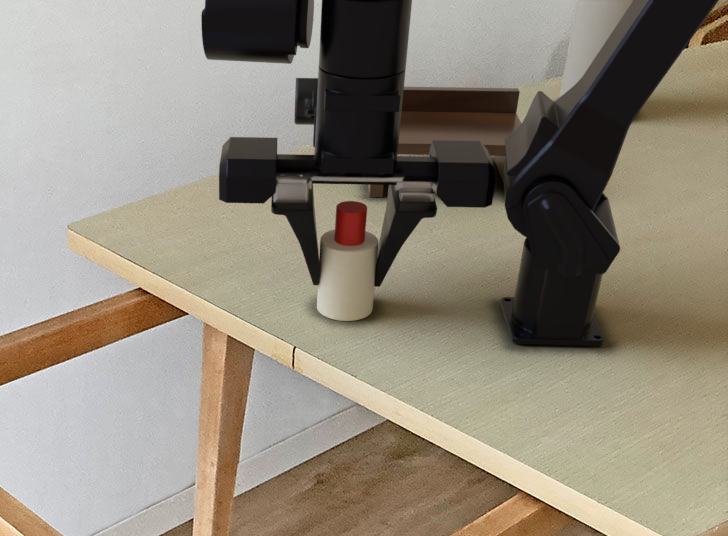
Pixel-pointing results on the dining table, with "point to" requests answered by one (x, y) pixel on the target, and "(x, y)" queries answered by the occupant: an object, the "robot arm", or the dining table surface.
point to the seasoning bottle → (347, 265)
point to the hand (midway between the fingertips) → (346, 283)
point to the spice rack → (456, 120)
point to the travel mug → (590, 35)
